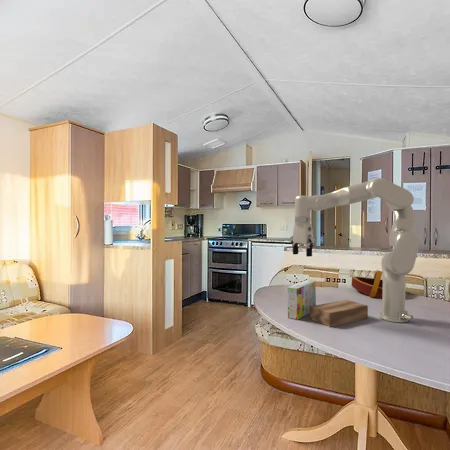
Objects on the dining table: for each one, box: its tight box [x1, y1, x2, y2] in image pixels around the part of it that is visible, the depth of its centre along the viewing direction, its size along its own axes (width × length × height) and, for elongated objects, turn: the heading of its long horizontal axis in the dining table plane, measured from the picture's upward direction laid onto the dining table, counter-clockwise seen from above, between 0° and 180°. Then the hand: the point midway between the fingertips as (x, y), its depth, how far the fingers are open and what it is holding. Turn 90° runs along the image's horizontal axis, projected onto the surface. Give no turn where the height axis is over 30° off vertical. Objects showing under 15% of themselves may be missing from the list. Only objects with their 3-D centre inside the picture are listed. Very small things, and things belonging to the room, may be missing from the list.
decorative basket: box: [351, 269, 383, 300], centre depth 198 cm, size 34×29×15 cm
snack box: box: [287, 279, 317, 321], centre depth 154 cm, size 21×6×15 cm, turn 141°
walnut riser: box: [309, 299, 369, 328], centre depth 146 cm, size 12×25×6 cm, turn 118°
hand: (302, 255), depth 153 cm, fingers open, 9 cm apart
